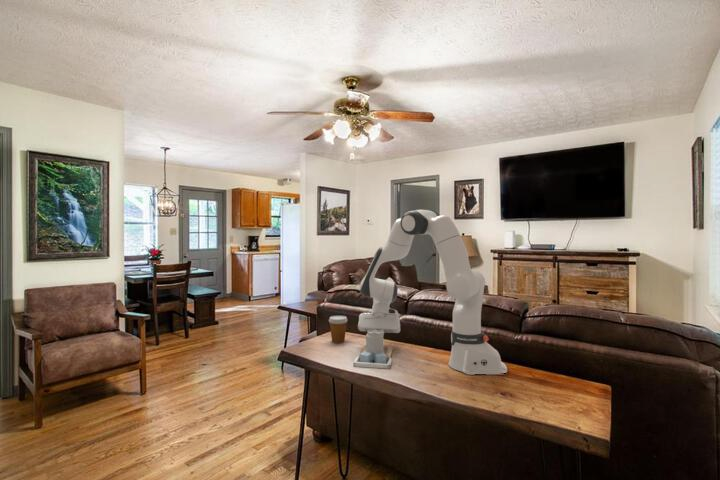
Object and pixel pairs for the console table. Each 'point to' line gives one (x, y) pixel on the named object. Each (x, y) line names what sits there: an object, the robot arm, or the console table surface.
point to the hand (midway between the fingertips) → (377, 339)
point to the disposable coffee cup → (338, 328)
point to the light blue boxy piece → (380, 358)
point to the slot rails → (388, 354)
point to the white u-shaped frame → (372, 364)
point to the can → (374, 342)
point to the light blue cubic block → (366, 357)
